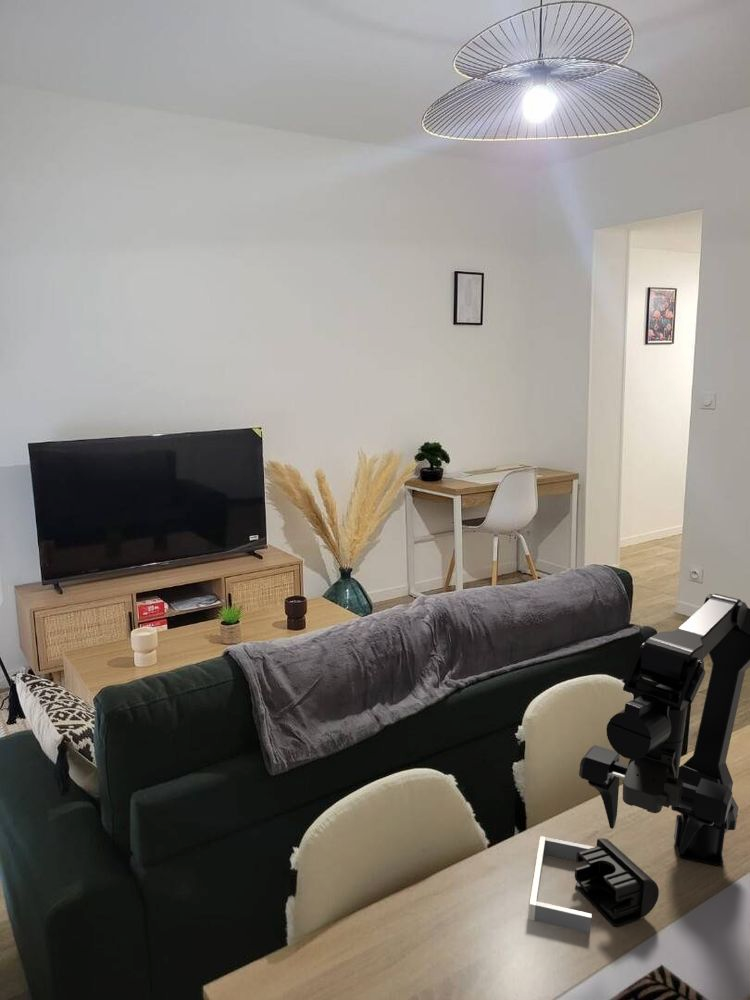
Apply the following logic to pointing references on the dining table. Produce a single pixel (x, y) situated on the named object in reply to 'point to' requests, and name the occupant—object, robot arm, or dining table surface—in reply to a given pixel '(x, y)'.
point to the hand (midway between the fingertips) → (646, 839)
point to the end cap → (615, 884)
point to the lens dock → (552, 912)
